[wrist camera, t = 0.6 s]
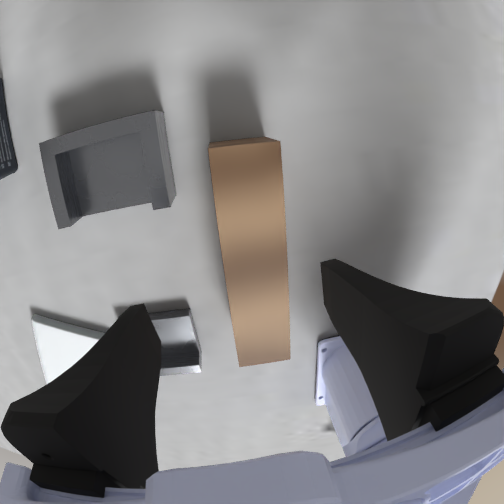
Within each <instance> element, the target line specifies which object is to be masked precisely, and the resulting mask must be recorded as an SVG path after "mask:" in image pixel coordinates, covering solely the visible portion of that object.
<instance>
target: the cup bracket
mask: <svg viewBox="0 0 504 504" xmlns="http://www.w3.org/2000/svg"><path fill="white" fill-rule="evenodd" d="M39 145H40V151H41V157H42V162H43V168H44V173H45V177H46V182H47V186H48V191H49V195H50V199H51V203H52V207H53V211H54V215H55V218H56V222H57V225H58V229H61V228H65V227H70V226H72V225H73V224H74V223H75V222H77V221H78V220H79V219H80V218H81V217H83V216H86V215H91V214H95V213H100V212H105V211H110V210H115V209H120V208H125V207H130V206H135V205H140V204H146V203H151V202H152V206H153V210H156V209H162V208H167V207H171V205H172V203H173V200H174V198H175V196H176V190H175V184H174V178H173V172H172V166H171V160H170V154H169V147H168V140H167V133H166V126H165V119H164V112H161V111H156V110H154V111H149V112H144V113H140V114H136V115H131V116H127V117H123V118H119V119H115V120H111V121H108V122H104V123H100V124H97V125H93V126H90V127H87V128H83V129H80V130H77V131H74V132H71V133H68V134H65V135H62V136H59V137H56V138H53V139H50V140H47V141H45V142H42V143H39Z"/></svg>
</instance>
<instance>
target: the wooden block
mask: <svg viewBox="0 0 504 504" xmlns="http://www.w3.org/2000/svg"><path fill="white" fill-rule="evenodd" d="M208 152H209V161H210V169H211V177H212V185H213V193H214V201H215V208H216V216H217V223H218V231H219V238H220V245H221V252H222V259H223V266H224V273H225V280H226V286H227V293H228V299H229V306H230V312H231V319H232V325H233V331H234V337H235V343H236V349H237V355H238V361H239V367H243V366H250V365H257V364H264V363H271V362H277V361H283V360H289V359H290V320H289V289H288V263H287V242H286V222H285V205H284V189H283V173H282V159H281V146H280V141H277V140H274V139H271V138H267V137H257V138H246V139H237V140H228V141H219V142H211V143H210V144H209V147H208Z"/></svg>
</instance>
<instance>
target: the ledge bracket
mask: <svg viewBox="0 0 504 504" xmlns="http://www.w3.org/2000/svg"><path fill="white" fill-rule="evenodd" d="M149 316H150V318H151V321H152V323H153V325H154V327H155V329H156V331H157V333H158V336H159V338H160V340H161V369H160V376H165V375H177V374H187V373H197V372H201V352H202V351H201V348H200V344H199V341H198V337H197V333H196V330H195V326H194V322H193V318H192V314H191V311H190V308H189V309H182V310H174V311H166V312H157V313H149ZM118 318H119V317H118Z"/></svg>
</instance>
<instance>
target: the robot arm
mask: <svg viewBox="0 0 504 504" xmlns="http://www.w3.org/2000/svg"><path fill="white" fill-rule="evenodd" d="M320 263H321V273H322V284H323V295H324V305H325V307H326V309H327V312H328V314H329V316H330V319H331V321H332V323H333V325H334V327H335V328H336V330H337V332H338V333H339V335H340V336H338V337H333V338H329V339H324V340H321V341H320V342H319V343H318V356H317V379H316V396H315V403H316V405H318V406H320V405H325V404H326V407H327V410H328V412H329V415H330V418H331V420H332V423H333V426H334V428H335V431H336V434H337V436H338V439H339V442H340V444H341V446H342V447H343V450H344V453H345V456H346V457H344V458H341V459H338V460H335V461H332V462H329V461H328V459H327V458H326V457H325V456H324V455H323V454H320V453H316V452H307V451H296V452H289V453H281V454H275V455H271V456H266V457H261V458H256V459H250V460H245V461H239V462H232V463H225V464H218V465H210V466H201V467H190V468H177V469H170V470H165V471H158V463H157V454H156V439H155V407H156V398H157V391H158V383H159V376H160V369H161V340H160V338H159V336H158V333H157V331H156V329H155V327H154V325H153V323H152V321H151V318H150V316H149V314H148V312H147V310H146V307H145V305H144V304H139V305H134V306H130V307H129V308H128V309H127V310H126V311H125V312H124V313H123V314H122V315H121V316H120V317H119V318H118V320H117V321H116V322H115V323H114V324H113V325H112V326H111V327H110V329H109V330H108V331H107V332H106V333H105V334H104V335H103V336H102V337H101V338H100V340H99V341H98V342H97V343H96V344H95V345H94V346H93V347H92V348H91V349H90V350H89V351H88V352H87V353H86V354H85V355H84V356H83V357H82V358H81V359H80V360H78V361H77V362H76V363H75V364H74V365H73V366H71V367H70V368H69V369H68V370H66V371H65V372H64V373H62V374H61V375H60V376H58V377H57V378H56V379H54V380H53V381H51V382H50V383H48V384H47V385H45V386H44V387H42V388H40V389H38V390H37V391H35V392H33V393H31V394H29V395H27V396H25V397H23V398H21V399H19V400H17V401H15V402H13V403H11V404H10V406H9V408H8V410H7V413H6V415H5V417H4V420H3V422H2V424H1V430H2V432H3V435H4V436H5V438H6V439H7V440H8V441H9V442H10V443H11V444H12V445H13V446H14V447H15V448H16V449H17V450H18V451H19V452H21V453H22V454H23V455H24V456H25V457H26V458H28V459H29V460H30V461H31V462H32V463H34V464H33V468H32V470H31V469H29V468H27V467H25V466H21V465H17V464H13V463H9V462H8V463H6V466H5V469H4V472H3V476H2V479H1V482H0V504H468V502H469V500H470V498H471V496H472V495H473V493H474V491H475V489H476V487H477V485H478V483H479V481H480V479H481V477H482V475H484V474H485V473H486V472H488V471H489V470H490V469H492V468H493V467H494V466H496V465H497V464H498V463H499V462H500V461H502V460H503V459H504V368H503V369H502V371H501V370H500V369H499V368H498V366H497V364H498V363H499V359H498V358H497V357H496V356H495V355H494V352H495V349H496V347H497V344H498V341H499V339H500V336H501V333H502V330H503V326H504V316H503V313H502V312H501V311H500V310H499V309H498V308H496V307H495V306H494V305H493V304H492V303H491V302H490V301H489V300H488V299H472V298H452V297H443V296H436V295H431V294H426V293H421V292H417V291H413V290H409V289H406V288H403V287H399V286H396V285H393V284H391V283H388V282H385V281H383V280H380V279H378V278H376V277H373V276H371V275H369V274H367V273H364V272H362V271H360V270H358V269H356V268H354V267H352V266H350V265H348V264H346V263H344V262H342V261H339V260H337V259H332V260H328V261H324V262H320ZM324 348H325V349H324ZM322 349H323V350H322Z"/></svg>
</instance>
